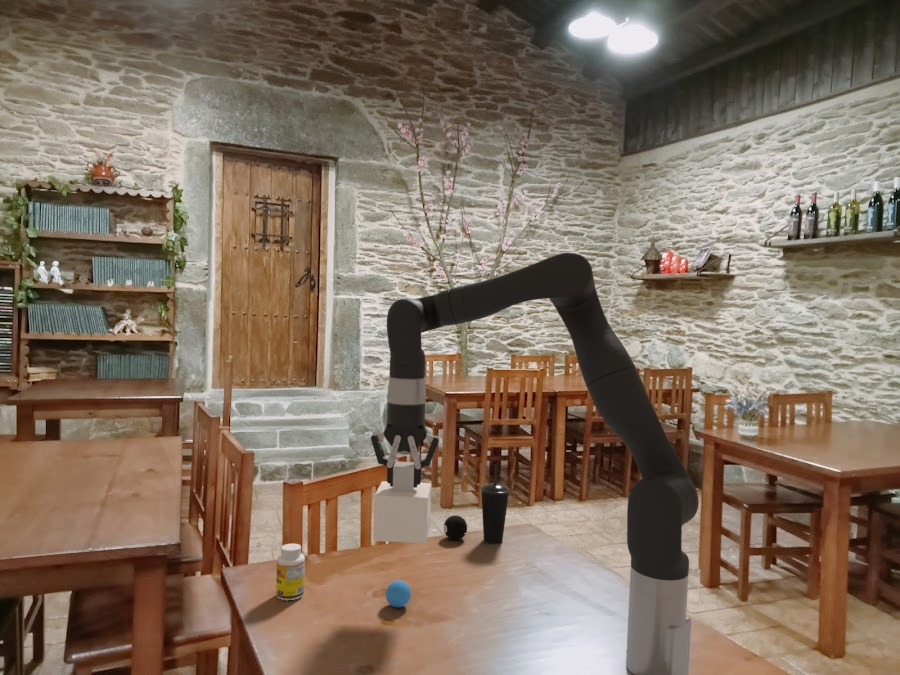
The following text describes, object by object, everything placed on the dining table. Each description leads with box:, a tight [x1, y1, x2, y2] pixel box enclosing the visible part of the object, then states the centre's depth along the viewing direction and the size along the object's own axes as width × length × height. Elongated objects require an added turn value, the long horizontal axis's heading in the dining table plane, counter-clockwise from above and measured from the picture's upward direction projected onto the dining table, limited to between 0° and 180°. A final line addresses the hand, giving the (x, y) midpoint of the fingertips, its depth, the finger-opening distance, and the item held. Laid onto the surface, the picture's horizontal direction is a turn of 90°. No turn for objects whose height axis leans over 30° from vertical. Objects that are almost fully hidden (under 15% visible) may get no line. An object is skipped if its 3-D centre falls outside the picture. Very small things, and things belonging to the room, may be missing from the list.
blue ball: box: [385, 579, 412, 608], centre depth 126 cm, size 5×5×5 cm
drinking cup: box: [479, 463, 511, 545], centre depth 164 cm, size 8×8×20 cm
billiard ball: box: [443, 515, 468, 541], centre depth 165 cm, size 6×6×6 cm
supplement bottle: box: [275, 543, 306, 601], centre depth 129 cm, size 6×6×10 cm
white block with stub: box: [372, 461, 432, 544], centre depth 126 cm, size 10×10×14 cm
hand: (403, 485), depth 126 cm, fingers closed on white block with stub, 4 cm apart
